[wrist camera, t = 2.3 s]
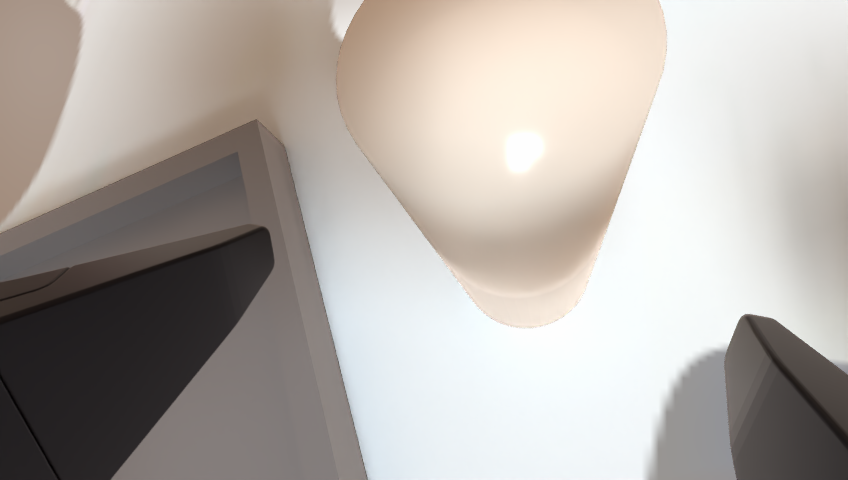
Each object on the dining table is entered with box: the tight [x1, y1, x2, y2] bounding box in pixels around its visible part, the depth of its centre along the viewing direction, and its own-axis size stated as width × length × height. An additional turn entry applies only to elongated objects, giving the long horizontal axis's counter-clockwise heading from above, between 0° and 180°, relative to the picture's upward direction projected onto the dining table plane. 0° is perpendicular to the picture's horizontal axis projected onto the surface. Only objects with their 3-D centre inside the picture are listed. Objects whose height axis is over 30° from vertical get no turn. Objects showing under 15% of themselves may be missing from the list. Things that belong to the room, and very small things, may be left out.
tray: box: [0, 119, 367, 480], centre depth 19 cm, size 24×18×2 cm
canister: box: [336, 0, 667, 328], centre depth 13 cm, size 5×5×13 cm
